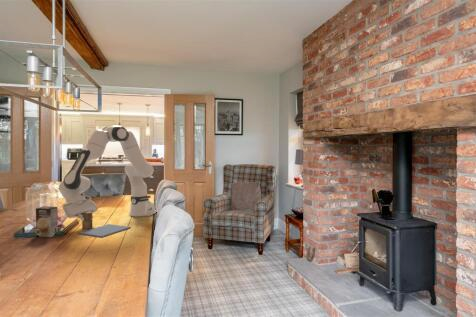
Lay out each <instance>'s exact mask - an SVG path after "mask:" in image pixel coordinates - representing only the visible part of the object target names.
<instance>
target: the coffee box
mask: <svg viewBox="0 0 476 317" xmlns="http://www.w3.org/2000/svg"><path fill="white" fill-rule="evenodd" d="M58 209H59V208H58V206H41V207H37V208H35V235H36V234H37V235H38V236H39V237H40V238H52V237H54V235H55V233H56V232H57V231H58V232H59V230H58V229H59V228H58V227H59V226H58V224H59V223H58V221H59V220H58V219H59V217H58V216H59V215H58V214H59V213H58V211H59V210H58ZM55 236H56V235H55ZM39 237H38V238H39Z"/></svg>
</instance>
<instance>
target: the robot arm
mask: <svg viewBox="0 0 476 317" xmlns="http://www.w3.org/2000/svg"><path fill="white" fill-rule="evenodd" d="M109 142H113V143H116V142H119V143H120V145H121V148H122V152H123V154H124V157H125V159H127V161H129V162H130V163H127V164H126V165H125V166H124V173H125V175H127V177H128V180H129V183H130V191H131V194H130V195H131V196H130V202H131V203H130V208H129V213H128V214H129V216H130V217H149V216H152V215H154V214H156V210H157V209H156V206H155V204H154V203H153V202H152V201H151V200H149V199H151V198H152V197H151V195H148V186H147V183H146V182H145V180H144V179H146V178H148V177H151V176H153V173H154V171H155V170H154V166H153V165H152V164H150V162H149V161H147V159H146V158H145V157H144V155H143V153H142V152H141V151H142V150H141V149H140V147H139V143H138V140H137V138H136V137H135V135H134V133H133V132H132V131H131V130H127V129H126V128H125V127H124V126H122V125H109V126H105V127H103V128H102V129H95V130H94V131H93V133H92V134H91V135H90V137H89V139H88V140H87V143H86V145H85V147H84V149H82V150H81V151H80V152H79V154H78V156H77V157H76V159H75V161H74V163H73V164H72V166H71V167H70V169H69V171H68V172H67V173H66V174H65V176H64V177H63V181H61V182H60V183H59V185H58V191H59V192H60V194H61V196H62V197H63V199H65V201H66V203H65V204H63V205H62V207H61V208H62V209H63V212H64V214H65V216H66V217H67V218H70V219H71V218H75V217H77V218H78V219H80V220H81V222H82V221H84V220H85V219H86V218H85V217H83V216H82V213H84V212H92V214H93V213H95V212H97V211H98V209H99V207H98V205H97V204H96V203H95V202H94V200H92V197H91V196H85V195H82V194H83V193H86V192H87V191H88V190H89V189H90V188H91V186H92V181H91V179H90V178H89V177H87V176H84V175H82V172H83V171H84V169H85V166H86V165H87V163H88V162H89V161H92V160H97V159H100V158H101V157H102V156H103V154H104V152H105V150H106V147H107V144H108V143H109ZM92 219H94V216H93V215H92Z"/></svg>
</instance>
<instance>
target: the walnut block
mask: <svg viewBox="0 0 476 317" xmlns="http://www.w3.org/2000/svg"><path fill="white" fill-rule="evenodd" d="M81 216H83V217H85V218H86V219H85V220H84V221H82V220H81V222H82V223H81V224H82V225H81V228H82V230H85V231H87V230H90V229H94V228H93V218H92V216H93V213H92V212H84V213H82V215H81Z"/></svg>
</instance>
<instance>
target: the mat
mask: <svg viewBox="0 0 476 317" xmlns="http://www.w3.org/2000/svg"><path fill="white" fill-rule="evenodd" d="M129 229H131V226H126V225H119V224H110V223H108V224H104V225H101V226H97V227H94V228H91V229H88V230H84V231H81V232H78V235H83V236H88V237H94V238H95V237H97V238H105V237H108V236H112V235H115V234H117V233H121V232H123V231H126V230H129Z"/></svg>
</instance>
